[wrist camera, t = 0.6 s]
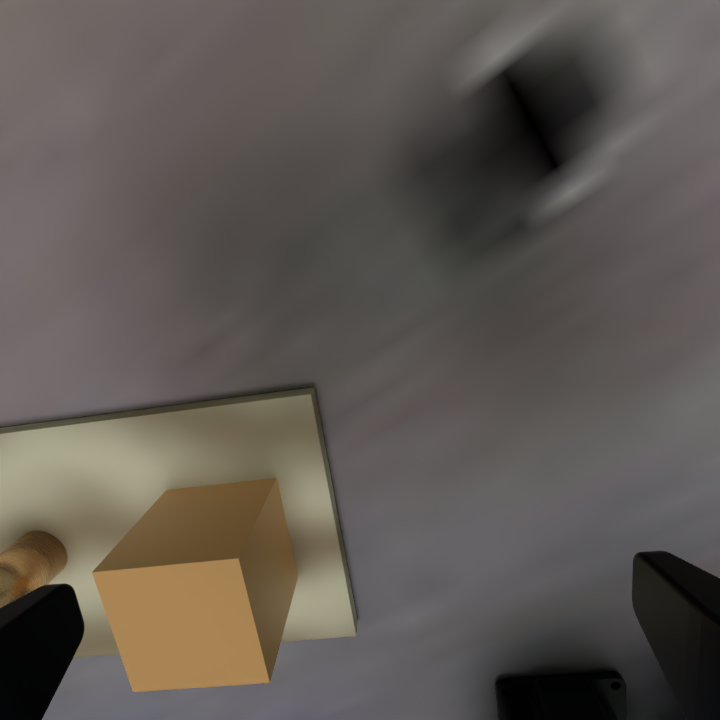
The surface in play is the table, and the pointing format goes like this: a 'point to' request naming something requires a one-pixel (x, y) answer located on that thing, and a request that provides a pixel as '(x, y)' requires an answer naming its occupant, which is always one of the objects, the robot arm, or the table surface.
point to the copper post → (30, 564)
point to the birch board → (175, 471)
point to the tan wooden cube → (201, 587)
